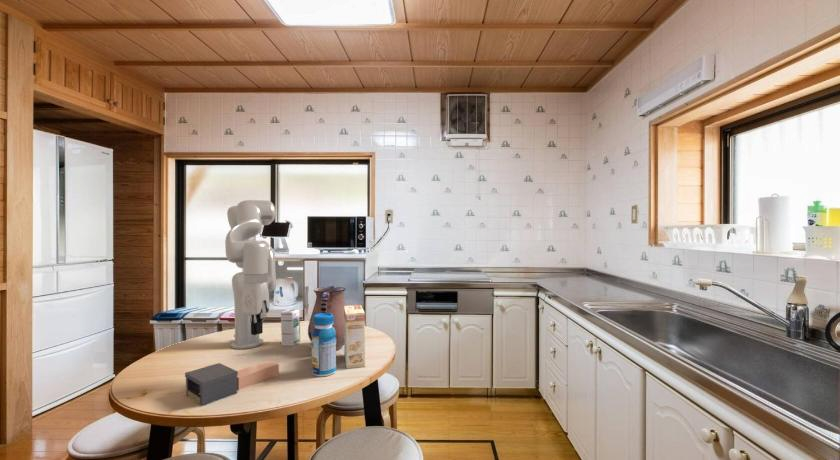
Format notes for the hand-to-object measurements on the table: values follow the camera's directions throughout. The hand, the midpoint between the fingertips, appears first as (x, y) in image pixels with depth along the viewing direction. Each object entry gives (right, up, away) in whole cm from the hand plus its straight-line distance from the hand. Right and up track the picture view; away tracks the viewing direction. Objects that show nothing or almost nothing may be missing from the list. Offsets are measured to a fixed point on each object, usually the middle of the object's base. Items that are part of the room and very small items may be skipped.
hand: (256, 333), depth 124 cm
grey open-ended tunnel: (-8, -15, -11) cm, 20 cm away
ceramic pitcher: (+17, -15, +29) cm, 37 cm away
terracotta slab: (0, -15, -1) cm, 15 cm away
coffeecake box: (+30, -15, +16) cm, 37 cm away
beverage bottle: (+21, -15, +5) cm, 26 cm away
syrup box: (-2, -15, +37) cm, 40 cm away
